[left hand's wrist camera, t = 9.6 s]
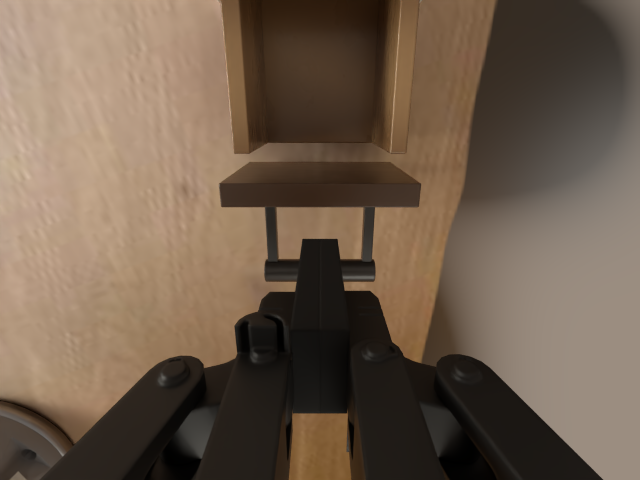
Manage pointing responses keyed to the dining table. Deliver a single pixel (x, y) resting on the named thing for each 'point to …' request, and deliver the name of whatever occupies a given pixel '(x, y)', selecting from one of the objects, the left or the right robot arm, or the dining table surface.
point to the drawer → (319, 109)
